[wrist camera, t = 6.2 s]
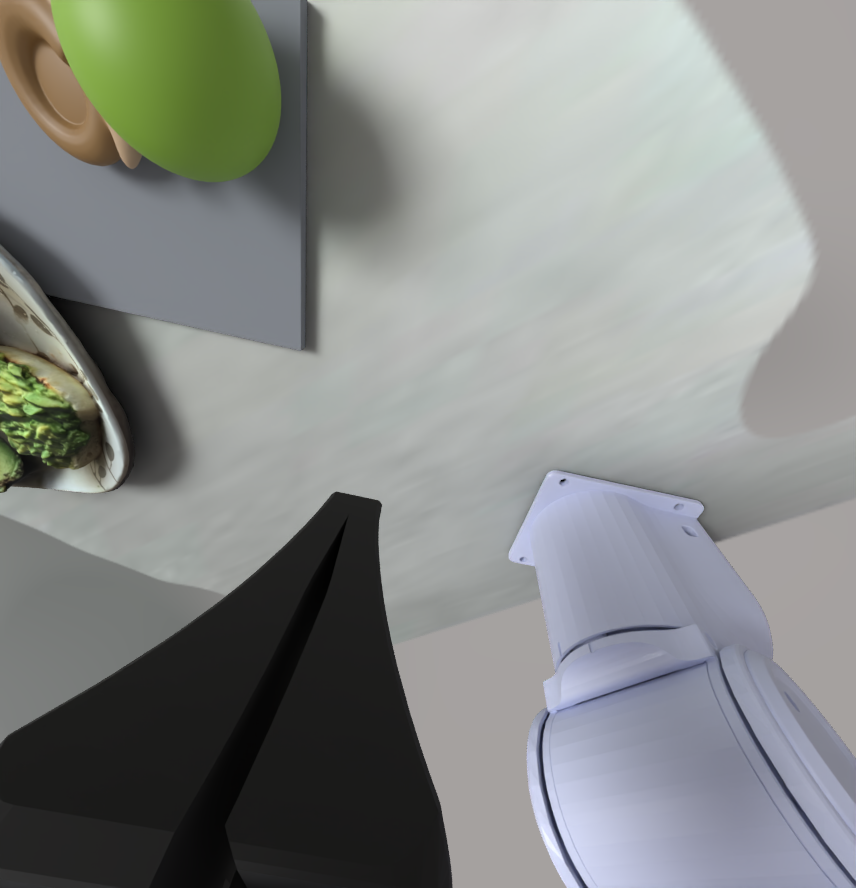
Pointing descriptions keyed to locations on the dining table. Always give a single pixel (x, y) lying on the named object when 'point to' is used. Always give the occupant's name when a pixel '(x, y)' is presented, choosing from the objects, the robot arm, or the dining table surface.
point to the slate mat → (170, 218)
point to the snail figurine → (147, 81)
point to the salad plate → (53, 399)
